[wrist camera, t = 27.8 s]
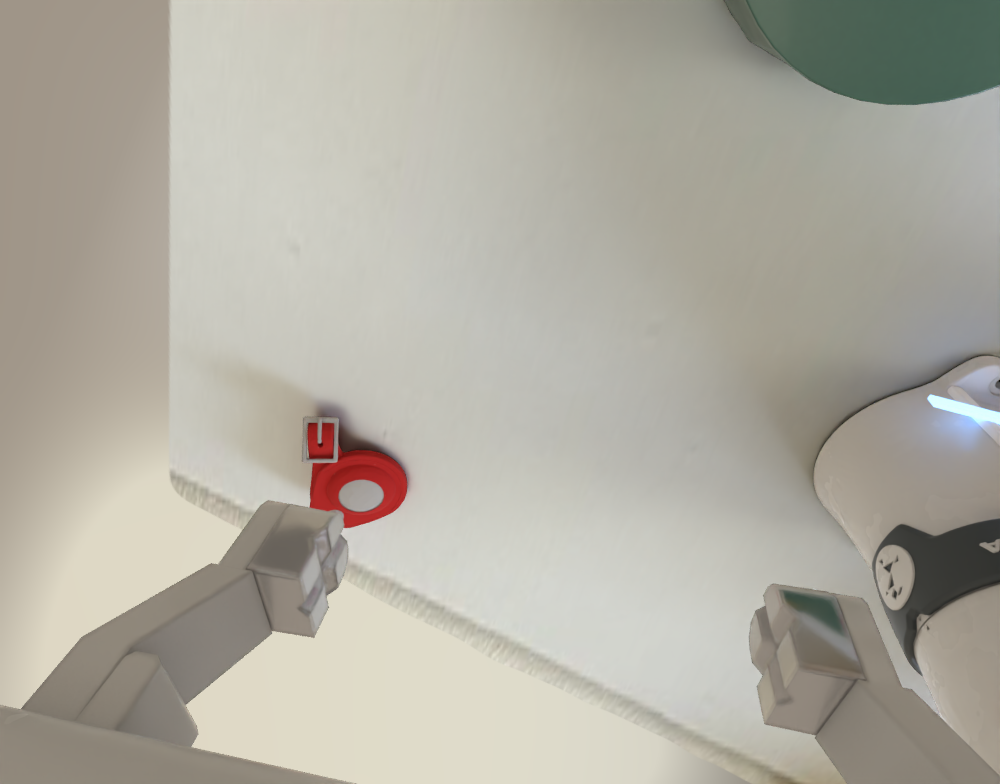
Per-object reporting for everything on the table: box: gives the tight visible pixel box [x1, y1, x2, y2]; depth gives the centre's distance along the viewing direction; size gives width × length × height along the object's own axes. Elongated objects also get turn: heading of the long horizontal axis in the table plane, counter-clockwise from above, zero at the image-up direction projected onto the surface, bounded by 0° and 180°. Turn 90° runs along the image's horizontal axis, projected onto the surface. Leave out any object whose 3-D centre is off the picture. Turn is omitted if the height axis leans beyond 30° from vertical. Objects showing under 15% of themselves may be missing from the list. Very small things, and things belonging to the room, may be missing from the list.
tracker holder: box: [302, 417, 407, 528], centre depth 51 cm, size 12×4×10 cm
